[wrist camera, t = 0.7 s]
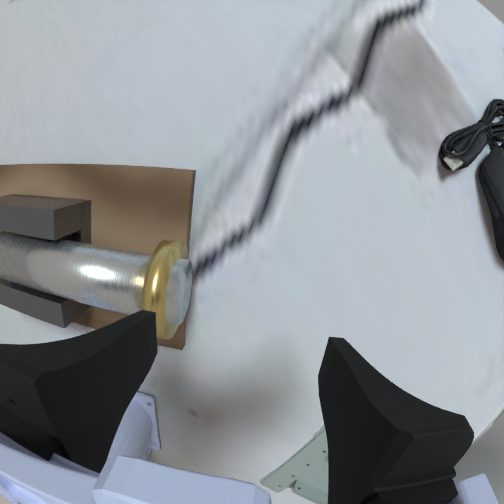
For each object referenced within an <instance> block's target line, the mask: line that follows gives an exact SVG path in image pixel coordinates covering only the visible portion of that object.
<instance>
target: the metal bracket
mask: <svg viewBox="0 0 504 504" xmlns="http://www.w3.org/2000/svg"><path fill="white" fill-rule="evenodd" d="M313 436H314V438H313V439H312V440H310V441H309V442H308V443H307V444H306V445H305V446H304V447H303V448H301V449H300V450H299V451H298V452H297V453H296V454H294V455H293V456H292V457H291V458H290V459H289V460H287V461H286V462H285V463H284V464H282V465H281V466H280V467H279V468H277V469H276V470H275V471H272V472H270V473H269V474H268V475H267V476H265V477H264V478H263V479H261V480H260V482H261V484H262V485H264V486H266V487H267V488H269V489H271V490H273V491H275V492H281V491H282V490H284V489H285V488H287V487H289V488H292V492H293V493H295V494H297V495H299V496H301V497H303V498H305V499H308V500H310V501H312V502H314V503H317V504H328V444H327V436H326V430H325V425H324V426H323V427H322V428H321V429H320V430H319V431H318V432H317V433H316V434H315V435H313ZM323 451H326V452H323ZM307 464H309V465H307ZM292 475H293V476H292ZM279 485H280V486H279Z"/></svg>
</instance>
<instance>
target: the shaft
mask: <svg viewBox="0 0 504 504" xmlns="http://www.w3.org/2000/svg"><path fill="white" fill-rule="evenodd" d="M0 278H2V279H5V280H8V281H11V282H14V283H17V284H20V285H23V286H26V287H29V288H32V289H36V290H39V291H42V292H45V293H49V294H52V295H55V296H59V297H62V298H66V299H69V300H73V301H76V302H80V303H84V304H88V305H91V306H95V307H99V308H103V309H107V310H111V311H115V312H119V313H123V314H128V315H131V314H133V313H135V312H138V311H141V310H147V311H152V312H156V332H157V338H160V339H165V340H169V339H171V338H172V337H173V335H174V334H175V332H176V330H177V328H178V326H179V325H180V324H181V323H182V322H183V320H184V318H185V315H186V312H187V309H188V305H189V300H190V295H191V288H192V265H191V262H190V260H189V255H188V250H187V246H186V244H185V243H184V242H181V241H173V240H163V241H161V242H160V243H159V244H158V245H157V247H156V248H155V250H154V252H153V254H149V253H142V252H136V251H130V250H124V249H118V248H111V247H105V246H99V245H93V244H87V243H81V242H75V241H69V240H64V239H57V240H49V239H43V238H38V237H32V236H27V235H22V234H16V233H11V232H6V231H2V232H0Z"/></svg>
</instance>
